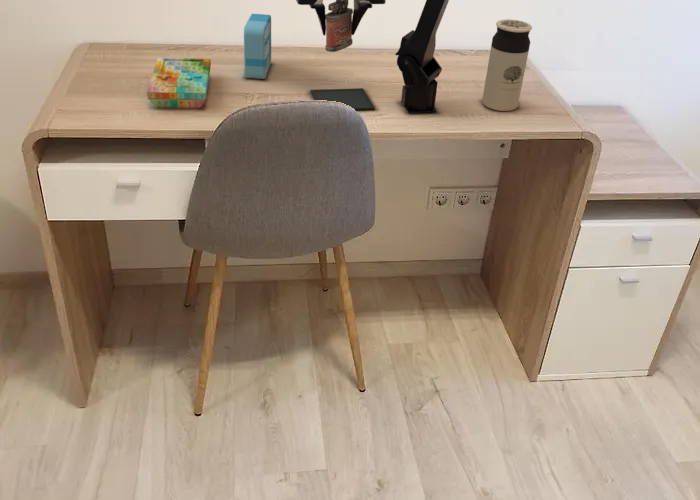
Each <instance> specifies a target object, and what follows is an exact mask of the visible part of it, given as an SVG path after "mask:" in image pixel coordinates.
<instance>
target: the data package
mask: <svg viewBox="0 0 700 500" xmlns="http://www.w3.org/2000/svg"><path fill="white" fill-rule="evenodd" d="M243 58H244V62H243V63H244V67H243V68H244V77H245V78H246V79H256V80H257V79H258V80H265V79H266V77H267V75H268V72H269V70H270V67H271V65H272V16H271V14H262V13H261V14H260V13H251V14H250V15H249V17H248V19H247V21H246V23H245V25H244V28H243Z"/></svg>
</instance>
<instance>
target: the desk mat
mask: <svg viewBox="0 0 700 500" xmlns="http://www.w3.org/2000/svg"><path fill="white" fill-rule="evenodd" d="M310 94H311V96H312V98H313V101H314V100H327V101H336V102H341V103H344V104H346V105H349V106H351V107H352V108H354V109H355V110H356V111H355V112H361V111H363V112H365V111H375V109H376V107H375V105H374V104H373V103H372V101H371V99H370V97H369V96H368V94H367V93H366V90H364V88H363V87H359V88H358V87H357V88H324V89H323V88H322V89H310Z"/></svg>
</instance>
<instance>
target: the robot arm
mask: <svg viewBox="0 0 700 500" xmlns="http://www.w3.org/2000/svg"><path fill="white" fill-rule="evenodd" d="M295 1H296V3H297V4H298V5H299V6H309V8H310V9H311V10H315V12H316V15H317V18H318V22H319V26H320V30H321V33H322V35H323V36H325V37H326V19H325V18H326V17H325V15H326V6H325V4H324V0H295ZM449 2H450V0H425V3H424V6H423V8H422V11H421V13H420V16H419V19H418V21H417V25H416V27H415V30H414V29H412V30H410V31H409V32H408V33H406V34H404V35H403V36H402V37H401V40H400V45H399V48H398V50H397V52H396V53H395V56H397V58H396V65H397V67H398V69H399V71H400V73H401V75H402V79H403V84H404V85H402V89H401V97H400V103H401V106H402V107H403V108H404V109H405V111H406V112H407V114H432V113H433V114H434V113H437V112H438V109H437V108H436V107H435V106H436V99H437V90H438V84H439V83H438V81H437V80H436V79H437V78H439V76H440V74H441V73H442V70H443V68H442V66H441V65H440V64H439V62H438V60H437V59H436V58H435V56H434V55H435V50H436V45H437V44H436V43H437V40H436V38H437V36H436V35H437V32H438V30H439V27H440V24H441V22H442V19H443V17H444V15H445V12H446V9H447V7H448V4H449ZM385 4H386V0H353V14H352V25H351V34H352V36H354V35H355V34H356V31H357V29H358V27H359V25H360V23H361V21H362V19H363V18H364V16H365V14H366V13H367V11H368V9H373V5H385Z"/></svg>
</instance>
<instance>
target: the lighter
mask: <svg viewBox="0 0 700 500" xmlns="http://www.w3.org/2000/svg"><path fill="white" fill-rule="evenodd" d="M327 7H328V8H327V9H328V11H330V12H327V13H325V17H326V18H325V19H326V34H325V46H324V47H325V52H328V53H335V52H339V51H342V50H344V49H347V48H349V47H350V46H352V45H353V40H354V39H353V35H352V34H351V25H352V17H353V10H354V8H351V7H349V0H335V1H332V2H331V3H328V6H327Z"/></svg>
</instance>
